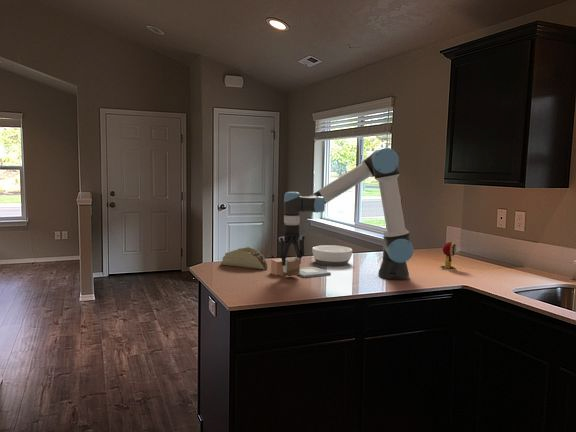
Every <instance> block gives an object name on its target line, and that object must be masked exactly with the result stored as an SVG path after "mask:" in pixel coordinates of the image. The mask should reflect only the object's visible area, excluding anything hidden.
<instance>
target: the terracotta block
mask: <svg viewBox="0 0 576 432" xmlns="http://www.w3.org/2000/svg"><path fill="white" fill-rule="evenodd" d="M270 263H271V265H270V270H271V271H270V274H272V275H274V274H275V275H274V276H276V275H280V276H285V275H284V274H283V265H282V258H274V259H271V262H270Z"/></svg>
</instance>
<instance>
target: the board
mask: <svg viewBox="0 0 576 432" xmlns="http://www.w3.org/2000/svg"><path fill="white" fill-rule="evenodd" d="M325 275H327V276H331V275H332V272H329V271H328V270H324V269H322V268H318V267H315V266H311V267H300V275H299V276H298V277H300V276H301V277H300V278H303V277H304V279H306V278H305V277H307V278H313V277H314V276H317V277H325ZM314 278H315V277H314Z"/></svg>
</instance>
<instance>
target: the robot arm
mask: <svg viewBox="0 0 576 432" xmlns="http://www.w3.org/2000/svg"><path fill="white" fill-rule="evenodd" d="M399 161H400V158H399V156H398V153H397V152H396V151H395V150H394V149H392V148H390V147H381V148H378V149H375V151H373V152H372V153H371V154H370V155H369V156H368V157H366V158H365V159H363V160H362V161H361V163H360V164H359V165H357V166H356V167H354V168H353V169H351V170H349V171H348V172H346V173H345V174H343V175H341V176H340V177H338V178H336V179H334V180H333V181H331V182H330V183H328V184H326V185H325V186H323V187H322V188H320V189H318V190H317V191H315V192H314V193H311V194H310V195H308V196H303V195H301V193H300V192H298V191H287V192H285V193H284V196H283V197H284V199H283V223H284V224H283V236H279V237H278V238H277V239H278V254H277V257H278V259H282V265H283V272H285V273H287V259H288V258H287V256H288V252H289V248H290V247H291V245H293V247H294V251H295V255H296V256H295V258H294V259H297V260H299V261H300V264H301V263H302V260H301V259H302V258H303V257H304V256H305V238H306V237H305V236H304V235H300V229H301V228H300V222H301V221H300V220H301V219H300V216H301V215H300V214H301V213H317V214H318V213H324V212H325V209H326V207H325V206H326V204H327V203H329V202H331V201H332V200H334V199H335V198H337V197H339V196H340V195H342V194H344V193H345V192H347V191H349V190H350V189H352V188H354V187H356V185H359V184H360V183H362V182H364V181H366V180H367V179H369V178H374V180H376V181H377V182H378V184H379V185H378V186H379V191H380V199H381V204H382V210H383V215H384V221H385V222H384V223H385V227H386V231H384V233H383V247H382V248H383V249H382V261H381V264H380V268H379V269H378V273H377V275H378V277H380V278H382V279H385V280H392V281H394V280H395V281H401V280H402V281H404V280H408V279H409V278H410V272H409V268H408V265H407V262H409V260H410V259H412V257H413V254H414V246H413V244H412V242H411V235H410V231H409V230H407V228H406V225H405V219H404V214H403V213H404V211H403V208H402V201H401V195H400V189H399V182H398V177H399V176H400V169H399V163H400V162H399Z"/></svg>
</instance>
